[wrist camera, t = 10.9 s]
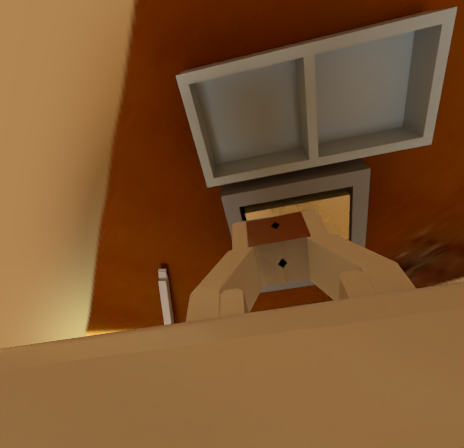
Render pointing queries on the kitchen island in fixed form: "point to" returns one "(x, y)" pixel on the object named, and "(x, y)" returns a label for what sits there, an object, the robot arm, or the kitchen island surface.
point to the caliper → (165, 297)
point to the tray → (319, 99)
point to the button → (326, 204)
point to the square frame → (303, 183)
